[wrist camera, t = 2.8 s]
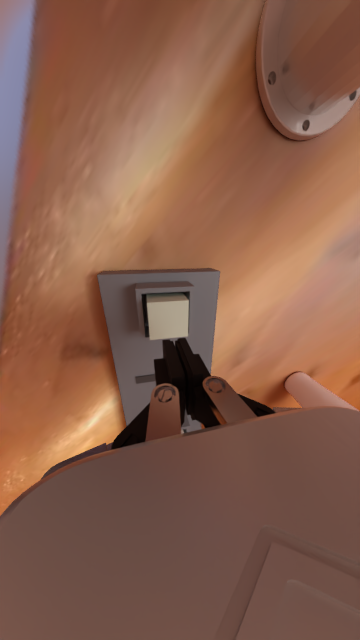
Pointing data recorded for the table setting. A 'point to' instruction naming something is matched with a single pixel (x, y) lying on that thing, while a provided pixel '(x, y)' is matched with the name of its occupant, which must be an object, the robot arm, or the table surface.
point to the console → (133, 327)
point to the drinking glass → (312, 392)
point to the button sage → (167, 315)
